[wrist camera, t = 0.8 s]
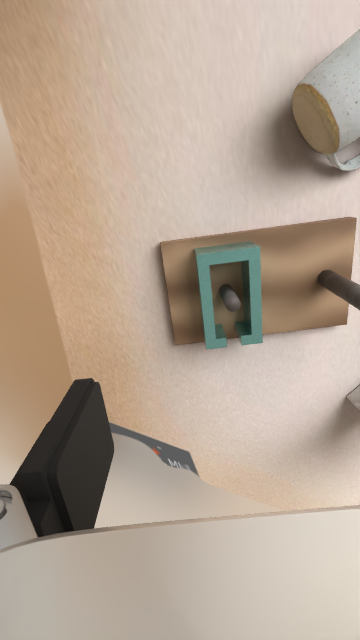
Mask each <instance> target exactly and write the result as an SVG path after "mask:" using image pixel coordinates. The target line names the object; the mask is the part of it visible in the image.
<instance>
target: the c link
mask: <svg viewBox="0 0 360 640" xmlns="http://www.w3.org/2000/svg"><path fill="white" fill-rule="evenodd" d="M194 251H195V260H196V270H197V279H198V288H199V298H200V307H201V316H202V325H203V335H204V340H205V345H206V350H207V349H215V348H223V347H227V339H226V335H225V332H224V330H223V327H222V324H217V325H215V323H214V312H213V301H212V290H211V279H210V268H209V265H214V264H222V263H229V262H237V261H241V262H242V282H243V303H244V321H241V322H235V331H236V333H237V336H238V338H239V340H240V342H241V345H248V344H257V343H263V340H262V300H261V260H260V246H258V245H257V244H255V243H253V242H252V241H247V242H239V243H232V244H224V245H217V246H209V247H201V248H194Z"/></svg>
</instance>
